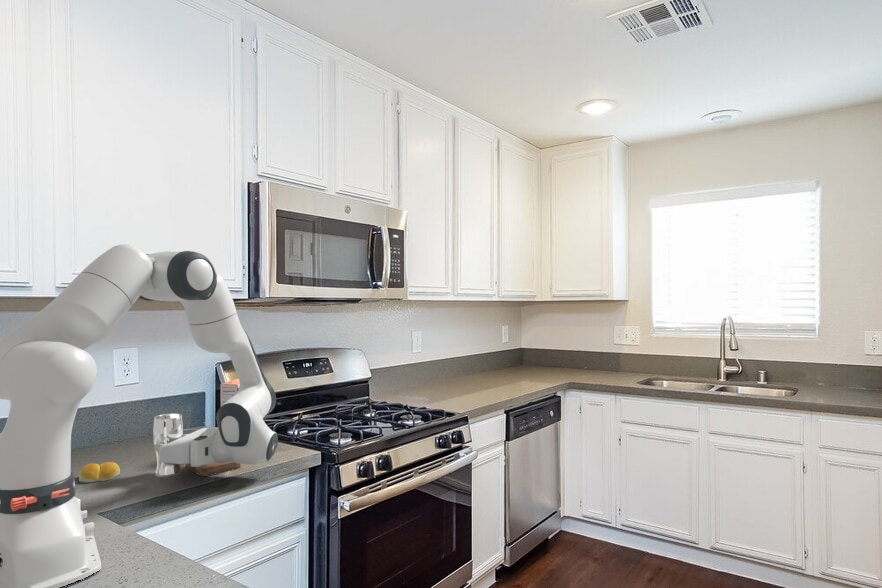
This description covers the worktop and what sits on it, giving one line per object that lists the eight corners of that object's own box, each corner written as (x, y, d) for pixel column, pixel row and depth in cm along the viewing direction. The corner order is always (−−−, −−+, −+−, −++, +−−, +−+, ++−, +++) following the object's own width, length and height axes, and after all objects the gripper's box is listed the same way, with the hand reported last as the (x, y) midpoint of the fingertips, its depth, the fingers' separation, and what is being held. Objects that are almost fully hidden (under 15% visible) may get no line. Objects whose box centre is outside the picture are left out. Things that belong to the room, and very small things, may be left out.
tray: (240, 467, 151) (240, 460, 151) (203, 477, 143) (203, 469, 143) (221, 459, 158) (221, 452, 158) (185, 467, 151) (185, 460, 151)
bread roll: (120, 479, 142) (120, 463, 142) (78, 486, 138) (78, 469, 138) (119, 470, 149) (119, 455, 149) (79, 476, 145) (79, 460, 145)
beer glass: (187, 469, 150) (187, 413, 150) (176, 477, 143) (175, 419, 143) (161, 469, 149) (160, 413, 149) (148, 478, 143) (147, 419, 142)
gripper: (234, 422, 155) (188, 421, 156) (192, 443, 134) (139, 441, 136) (234, 445, 155) (188, 443, 156) (192, 469, 134) (139, 467, 136)
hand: (165, 442), depth 146 cm, fingers closed on beer glass, 6 cm apart
